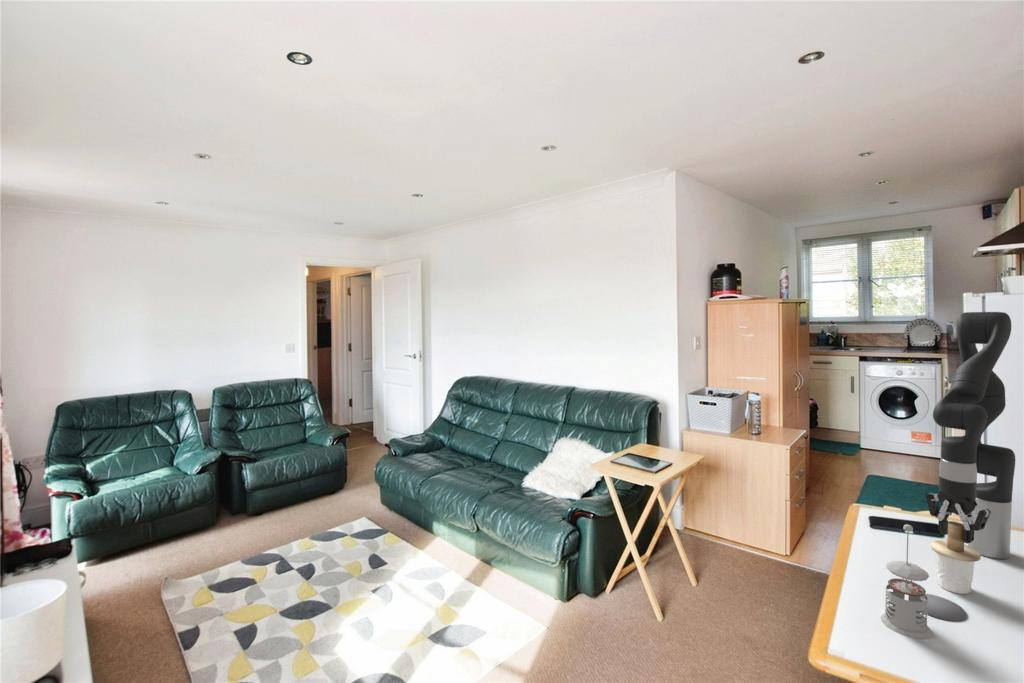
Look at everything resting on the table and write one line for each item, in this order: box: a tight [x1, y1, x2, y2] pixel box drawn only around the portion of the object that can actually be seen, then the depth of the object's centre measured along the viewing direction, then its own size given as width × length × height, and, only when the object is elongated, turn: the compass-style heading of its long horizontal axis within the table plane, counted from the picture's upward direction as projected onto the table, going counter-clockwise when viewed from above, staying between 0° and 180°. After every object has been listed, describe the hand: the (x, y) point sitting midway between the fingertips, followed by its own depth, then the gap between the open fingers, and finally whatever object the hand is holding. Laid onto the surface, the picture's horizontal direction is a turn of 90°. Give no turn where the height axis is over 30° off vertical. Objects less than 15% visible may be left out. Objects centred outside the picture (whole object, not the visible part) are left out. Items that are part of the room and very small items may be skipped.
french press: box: [879, 523, 933, 639], centre depth 119 cm, size 10×12×25 cm
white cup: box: [935, 552, 975, 595], centre depth 134 cm, size 8×8×10 cm
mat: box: [921, 593, 967, 622], centre depth 126 cm, size 11×11×1 cm
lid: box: [930, 520, 982, 563], centre depth 133 cm, size 10×10×8 cm
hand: (955, 537), depth 133 cm, fingers open, 4 cm apart
